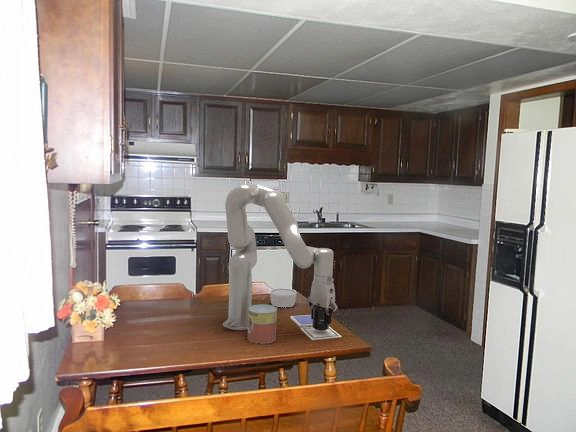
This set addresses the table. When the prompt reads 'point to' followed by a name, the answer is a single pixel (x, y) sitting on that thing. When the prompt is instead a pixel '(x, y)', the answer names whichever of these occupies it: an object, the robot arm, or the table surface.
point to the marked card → (320, 333)
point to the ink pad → (302, 320)
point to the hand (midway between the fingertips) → (321, 320)
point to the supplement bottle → (319, 318)
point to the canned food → (262, 323)
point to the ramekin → (283, 297)
